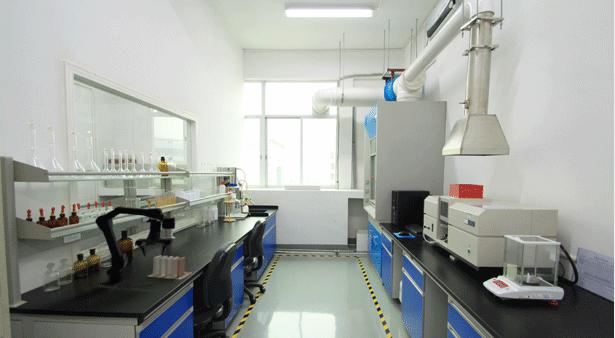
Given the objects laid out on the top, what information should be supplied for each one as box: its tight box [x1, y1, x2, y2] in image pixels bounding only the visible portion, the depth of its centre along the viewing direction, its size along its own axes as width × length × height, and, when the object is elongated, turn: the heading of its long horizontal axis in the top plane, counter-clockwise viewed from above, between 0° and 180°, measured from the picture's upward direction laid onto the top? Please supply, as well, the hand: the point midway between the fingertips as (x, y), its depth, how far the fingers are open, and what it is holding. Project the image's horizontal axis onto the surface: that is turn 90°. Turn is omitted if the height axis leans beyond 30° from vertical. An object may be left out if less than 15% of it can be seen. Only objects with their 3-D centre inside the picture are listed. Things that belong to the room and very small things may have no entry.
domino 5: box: [177, 256, 186, 277], centre depth 150 cm, size 2×5×10 cm, turn 171°
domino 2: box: [159, 255, 169, 275], centre depth 152 cm, size 2×5×10 cm, turn 171°
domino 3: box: [165, 255, 175, 276], centre depth 151 cm, size 2×5×10 cm, turn 171°
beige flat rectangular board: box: [147, 271, 193, 280], centre depth 151 cm, size 22×11×1 cm, turn 81°
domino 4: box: [171, 256, 180, 276], centre depth 151 cm, size 2×5×10 cm, turn 171°
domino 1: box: [152, 254, 163, 275], centre depth 152 cm, size 2×5×10 cm, turn 171°
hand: (153, 256), depth 147 cm, fingers open, 9 cm apart
